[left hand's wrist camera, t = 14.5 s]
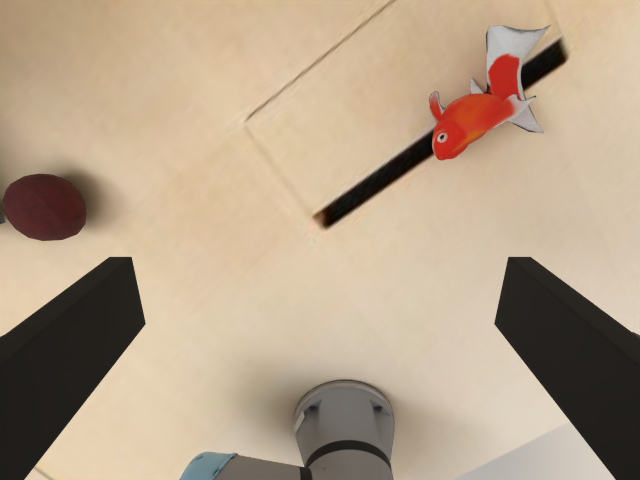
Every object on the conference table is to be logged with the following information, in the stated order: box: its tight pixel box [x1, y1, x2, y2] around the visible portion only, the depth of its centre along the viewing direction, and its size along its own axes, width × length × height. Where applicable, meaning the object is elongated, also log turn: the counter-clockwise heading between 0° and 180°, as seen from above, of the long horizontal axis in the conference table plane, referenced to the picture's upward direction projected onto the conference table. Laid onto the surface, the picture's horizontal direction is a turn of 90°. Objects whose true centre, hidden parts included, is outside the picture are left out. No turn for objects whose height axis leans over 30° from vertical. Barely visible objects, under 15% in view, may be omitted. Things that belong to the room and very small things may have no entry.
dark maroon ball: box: [3, 174, 86, 241], centre depth 40 cm, size 7×8×7 cm
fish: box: [429, 24, 552, 161], centre depth 35 cm, size 11×16×10 cm
